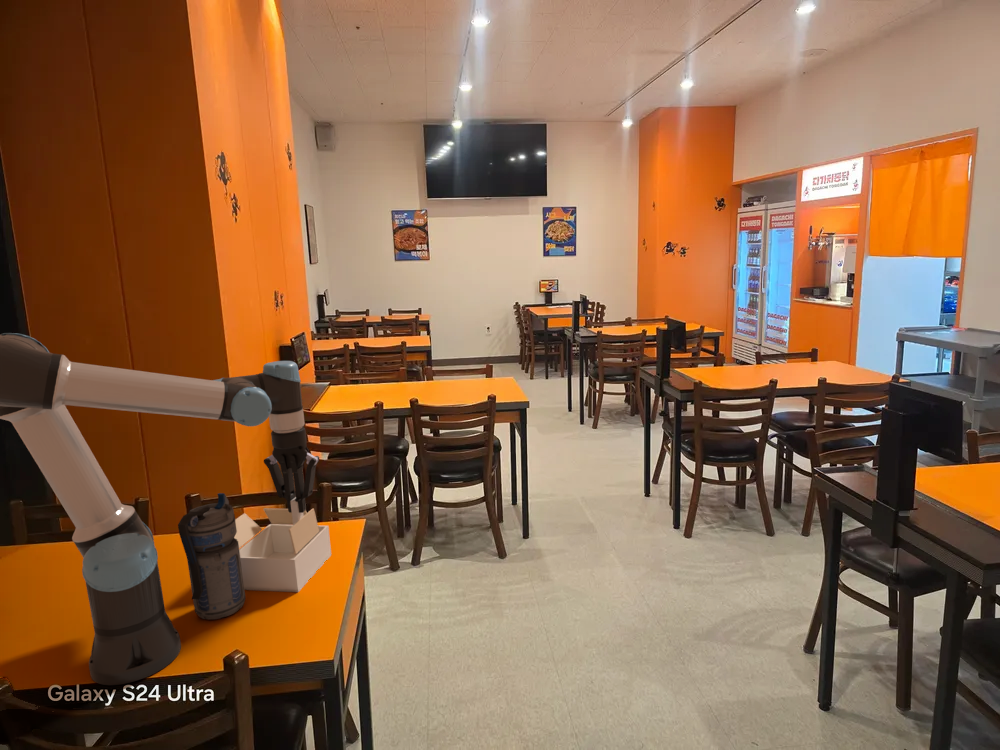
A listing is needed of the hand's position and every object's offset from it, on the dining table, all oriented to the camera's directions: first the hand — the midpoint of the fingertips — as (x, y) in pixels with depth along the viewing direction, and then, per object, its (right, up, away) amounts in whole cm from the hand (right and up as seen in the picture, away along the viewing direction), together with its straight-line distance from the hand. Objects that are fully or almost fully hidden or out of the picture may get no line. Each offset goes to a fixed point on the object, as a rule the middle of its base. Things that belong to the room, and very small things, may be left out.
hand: (298, 524), depth 146 cm
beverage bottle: (-14, -16, -12) cm, 24 cm away
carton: (-7, -13, +5) cm, 15 cm away
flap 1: (-6, 0, +9) cm, 11 cm away
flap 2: (+1, -1, 0) cm, 2 cm away
